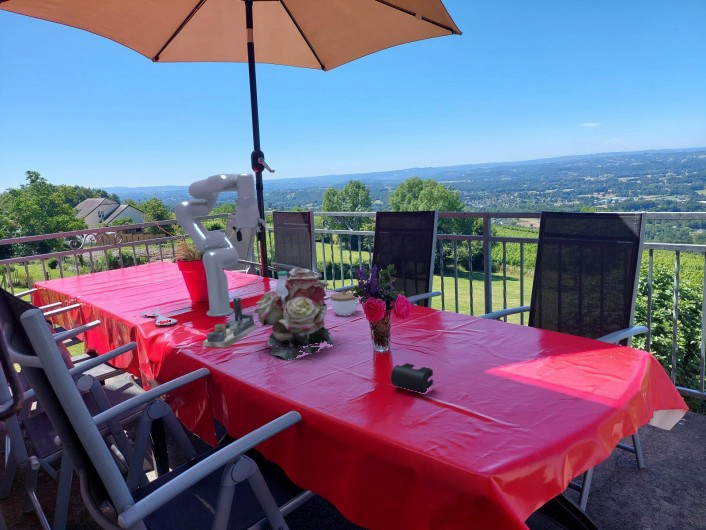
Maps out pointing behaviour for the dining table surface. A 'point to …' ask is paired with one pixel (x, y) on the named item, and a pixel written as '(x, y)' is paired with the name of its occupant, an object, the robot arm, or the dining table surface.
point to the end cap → (412, 377)
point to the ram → (237, 316)
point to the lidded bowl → (344, 303)
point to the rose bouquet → (296, 314)
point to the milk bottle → (282, 283)
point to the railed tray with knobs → (229, 334)
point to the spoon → (160, 317)
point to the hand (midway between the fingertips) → (249, 241)
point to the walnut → (221, 329)
